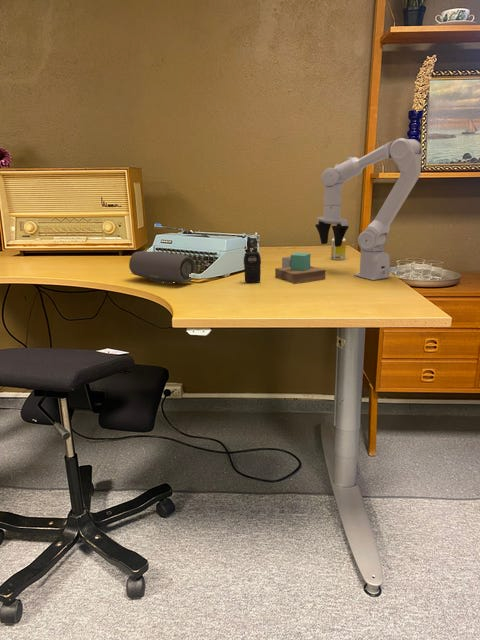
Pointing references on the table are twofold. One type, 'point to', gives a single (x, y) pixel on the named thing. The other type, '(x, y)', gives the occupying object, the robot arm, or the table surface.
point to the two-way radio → (252, 264)
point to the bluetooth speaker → (162, 266)
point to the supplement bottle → (338, 250)
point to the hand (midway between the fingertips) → (330, 245)
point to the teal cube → (300, 261)
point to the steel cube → (286, 262)
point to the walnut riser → (300, 274)
